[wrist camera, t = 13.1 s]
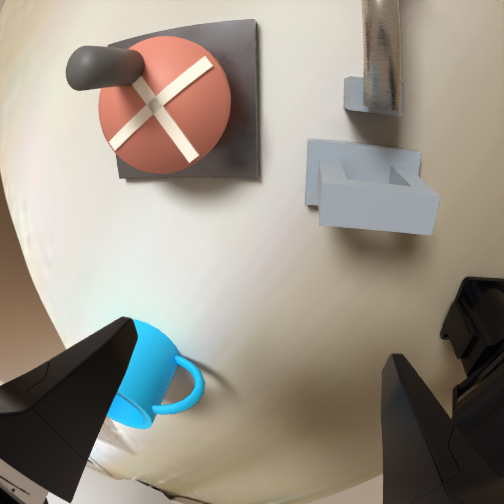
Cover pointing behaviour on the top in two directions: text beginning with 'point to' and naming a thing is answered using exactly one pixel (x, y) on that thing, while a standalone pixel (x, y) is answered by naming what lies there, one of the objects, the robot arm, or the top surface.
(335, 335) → the top surface
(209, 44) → the wheel mount
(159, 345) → the mug
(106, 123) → the handwheel
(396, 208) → the eye bracket
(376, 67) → the hook rod
